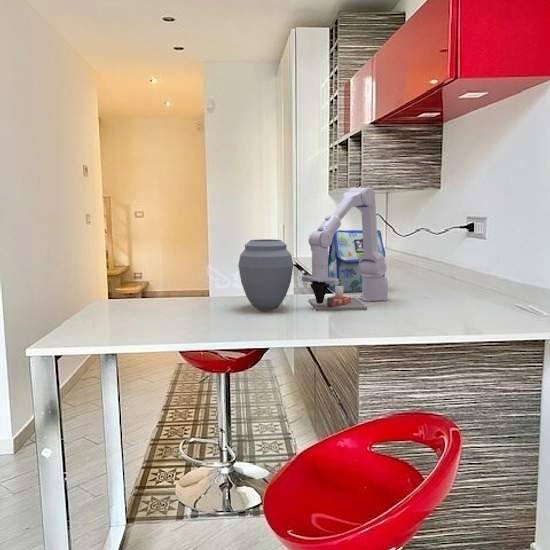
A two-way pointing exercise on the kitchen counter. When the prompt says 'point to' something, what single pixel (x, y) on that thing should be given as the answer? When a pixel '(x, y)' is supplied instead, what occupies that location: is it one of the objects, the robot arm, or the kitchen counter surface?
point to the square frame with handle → (333, 302)
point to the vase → (265, 272)
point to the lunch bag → (348, 258)
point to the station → (338, 295)
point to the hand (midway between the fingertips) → (319, 303)
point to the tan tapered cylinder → (339, 302)
